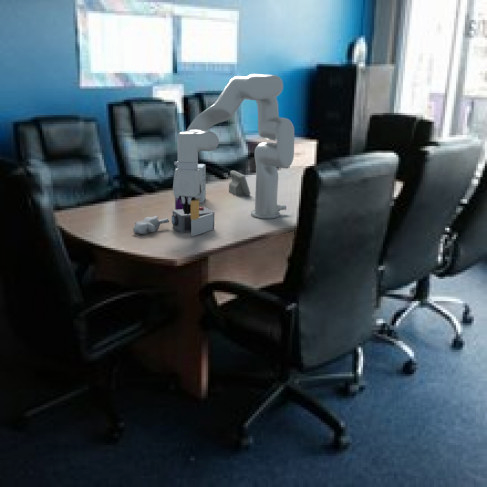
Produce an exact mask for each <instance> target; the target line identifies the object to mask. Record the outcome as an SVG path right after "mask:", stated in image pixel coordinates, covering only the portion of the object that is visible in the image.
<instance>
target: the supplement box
mask: <svg viewBox="0 0 487 487" xmlns="http://www.w3.org/2000/svg"><path fill="white" fill-rule="evenodd" d="M198 169H199V170H200V175H201V185H202V192H201V199H200V200H199V204H200V203H201V204H203V203H204V201H205V200H206V197H207V196H206V192H207V191H206V185H207V182H206V179H207V177H206V171H207V170H206V163H205V164H204V163H198Z"/></svg>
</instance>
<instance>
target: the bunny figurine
mask: <svg viewBox="0 0 487 487" xmlns="http://www.w3.org/2000/svg"><path fill="white" fill-rule="evenodd" d="M169 222H170V221H169V218H163V219H159V216H157V215H153V216H146V217H144V218H143V219H142V220H139V221H136V222H135V223H134V226H133V228H132V229H133V230H132V231H133V233H135V234H140V235H144V236H145V235H148V233H154V232H155V233H156V231H158V230H159V229H160V225H161V224H167V223H168V224H169Z"/></svg>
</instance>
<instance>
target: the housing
mask: <svg viewBox="0 0 487 487" xmlns="http://www.w3.org/2000/svg"><path fill="white" fill-rule="evenodd" d="M210 213H214V214H215V212H214V211H213V210H212V209H210V208H208V207H206V206H199V217H200V216H204V215H207V214H210ZM171 224H172V228H173V229H175V231H177V232H179V233H180V234H186V233H187V234H188V233H191V213H190V214H188V215H187V214H184V211H183V209H180V210H176V209H172V215H171Z"/></svg>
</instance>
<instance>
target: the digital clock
mask: <svg viewBox="0 0 487 487" xmlns="http://www.w3.org/2000/svg"><path fill="white" fill-rule="evenodd" d="M229 174H230V178H231V181H230V182H229V184H228V193H230V194H232V195H233V196H235V195H239V196H246V197H249V196H250V195H251V190H250V187H249V184H248V182H247V178H246V176H245V174H242V173H240V172H238V171H236V170H234V169H233V170H230V172H229Z"/></svg>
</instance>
